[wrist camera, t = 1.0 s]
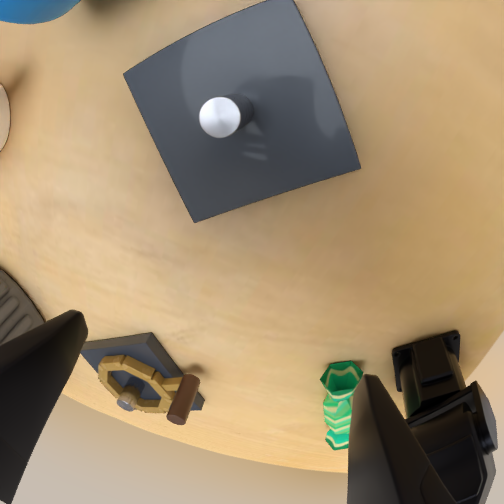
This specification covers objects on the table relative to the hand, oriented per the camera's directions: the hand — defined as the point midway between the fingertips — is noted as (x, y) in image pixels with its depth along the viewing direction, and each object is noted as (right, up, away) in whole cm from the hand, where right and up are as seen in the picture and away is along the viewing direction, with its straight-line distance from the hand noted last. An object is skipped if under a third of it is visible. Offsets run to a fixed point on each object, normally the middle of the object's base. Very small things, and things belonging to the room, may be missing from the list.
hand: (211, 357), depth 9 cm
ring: (-10, -11, +22) cm, 27 cm away
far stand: (-11, -11, +24) cm, 29 cm away
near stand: (+1, +12, +9) cm, 15 cm away
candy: (+10, -12, +21) cm, 26 cm away
